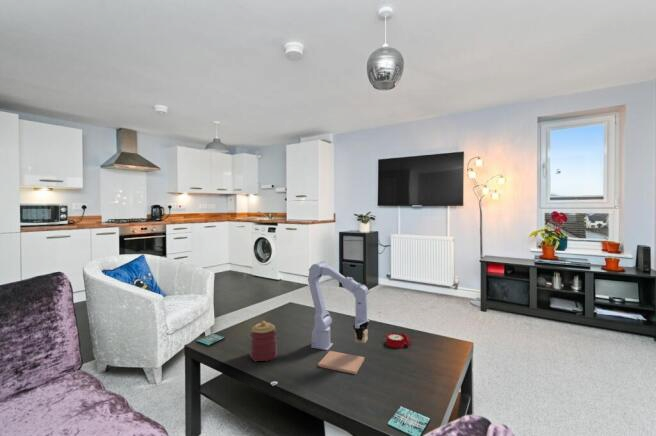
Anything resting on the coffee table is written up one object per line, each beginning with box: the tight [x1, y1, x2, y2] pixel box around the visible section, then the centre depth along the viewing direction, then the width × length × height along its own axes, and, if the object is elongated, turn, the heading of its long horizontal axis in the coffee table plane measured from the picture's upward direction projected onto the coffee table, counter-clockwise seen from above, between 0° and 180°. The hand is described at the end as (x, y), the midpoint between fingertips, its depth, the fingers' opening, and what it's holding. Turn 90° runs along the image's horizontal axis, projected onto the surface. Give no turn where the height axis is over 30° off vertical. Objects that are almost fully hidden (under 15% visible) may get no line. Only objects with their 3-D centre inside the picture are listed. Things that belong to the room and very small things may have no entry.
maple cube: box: [354, 329, 369, 344], centre depth 154 cm, size 5×5×5 cm
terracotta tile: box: [317, 350, 365, 375], centre depth 146 cm, size 18×14×1 cm
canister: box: [249, 320, 278, 362], centre depth 153 cm, size 13×13×18 cm
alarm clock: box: [382, 332, 414, 349], centre depth 166 cm, size 10×6×15 cm
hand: (361, 337), depth 154 cm, fingers closed on maple cube, 5 cm apart
